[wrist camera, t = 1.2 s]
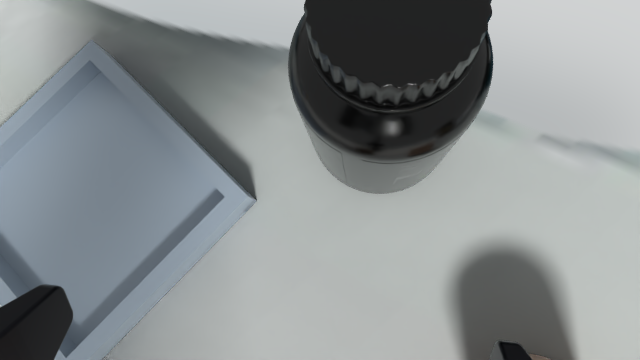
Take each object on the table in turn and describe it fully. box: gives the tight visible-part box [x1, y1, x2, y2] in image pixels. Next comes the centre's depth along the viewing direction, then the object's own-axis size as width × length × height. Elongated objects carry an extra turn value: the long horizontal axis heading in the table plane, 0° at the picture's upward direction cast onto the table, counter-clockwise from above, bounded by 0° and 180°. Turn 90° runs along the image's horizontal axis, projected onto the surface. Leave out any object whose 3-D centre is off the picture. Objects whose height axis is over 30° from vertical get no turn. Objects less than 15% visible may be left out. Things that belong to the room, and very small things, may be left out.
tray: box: [0, 40, 256, 360], centre depth 23 cm, size 12×12×2 cm
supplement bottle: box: [288, 0, 493, 194], centre depth 17 cm, size 7×7×12 cm
